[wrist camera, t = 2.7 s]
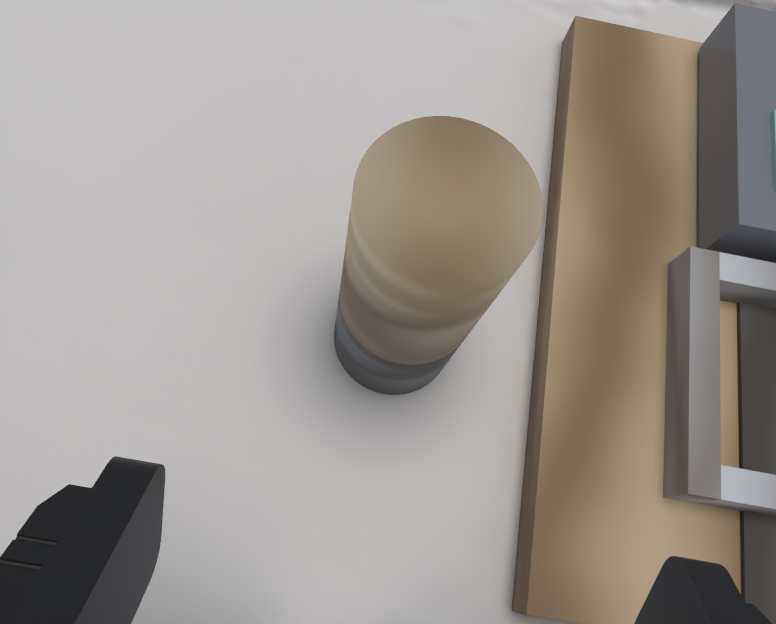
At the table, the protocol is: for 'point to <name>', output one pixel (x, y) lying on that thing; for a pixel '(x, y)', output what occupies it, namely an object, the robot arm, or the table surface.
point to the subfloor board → (642, 352)
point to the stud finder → (738, 135)
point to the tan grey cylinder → (429, 247)
